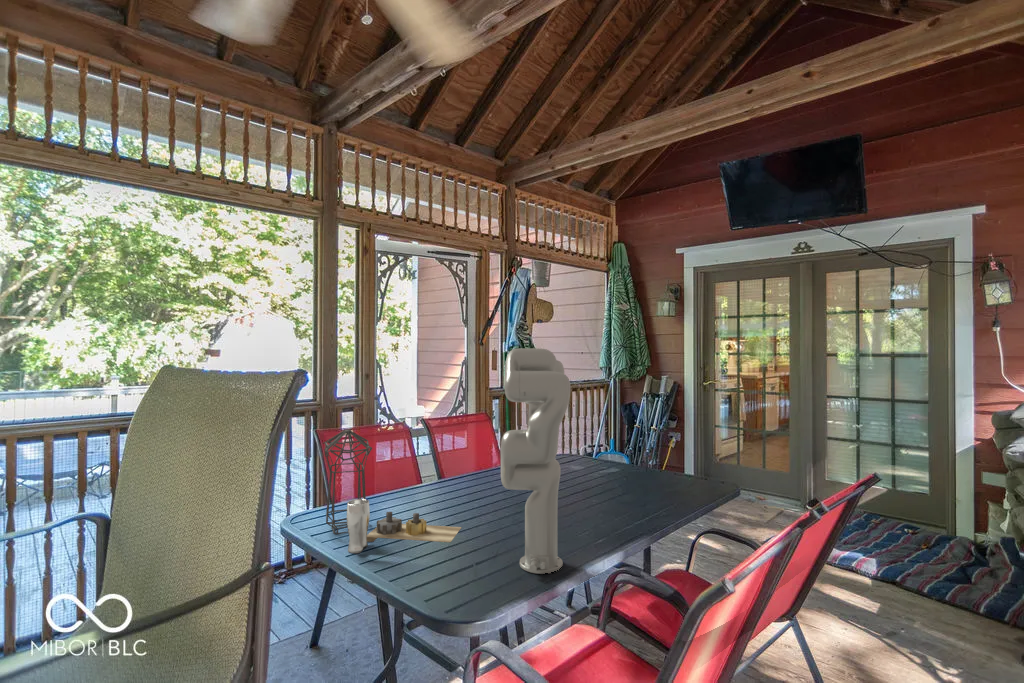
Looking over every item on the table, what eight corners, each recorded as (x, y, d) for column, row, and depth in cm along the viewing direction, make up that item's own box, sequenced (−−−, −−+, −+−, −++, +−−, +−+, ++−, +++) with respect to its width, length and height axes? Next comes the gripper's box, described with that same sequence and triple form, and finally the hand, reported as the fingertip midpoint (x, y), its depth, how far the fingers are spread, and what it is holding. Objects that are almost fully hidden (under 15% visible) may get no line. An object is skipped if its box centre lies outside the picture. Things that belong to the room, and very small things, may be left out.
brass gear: (422, 536, 170) (422, 525, 170) (403, 534, 171) (403, 524, 171) (428, 529, 176) (428, 518, 177) (410, 528, 178) (410, 517, 178)
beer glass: (361, 543, 167) (361, 497, 167) (374, 549, 163) (374, 501, 163) (341, 550, 162) (342, 502, 162) (354, 556, 157) (355, 506, 158)
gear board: (450, 547, 165) (450, 523, 165) (364, 541, 169) (364, 518, 169) (461, 531, 178) (461, 509, 179) (382, 526, 183) (382, 505, 183)
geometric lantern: (366, 519, 191) (368, 425, 190) (370, 535, 176) (373, 432, 176) (320, 524, 185) (323, 426, 185) (321, 540, 170) (323, 434, 170)
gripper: (544, 402, 173) (544, 453, 173) (548, 397, 190) (548, 443, 190) (522, 401, 174) (522, 452, 174) (528, 396, 191) (528, 443, 191)
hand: (536, 448), depth 182 cm, fingers open, 9 cm apart
